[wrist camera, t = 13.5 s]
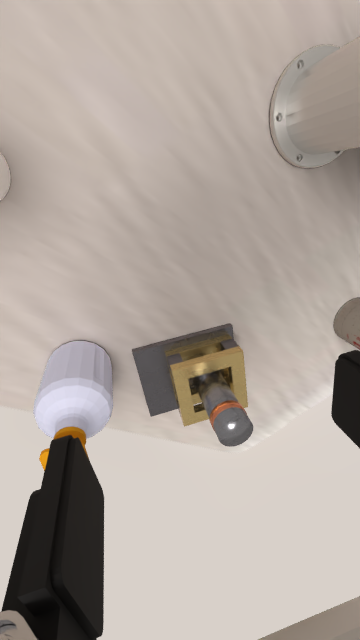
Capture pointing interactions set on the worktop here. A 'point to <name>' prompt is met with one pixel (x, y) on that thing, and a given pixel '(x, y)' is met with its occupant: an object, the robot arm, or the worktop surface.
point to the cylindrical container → (4, 177)
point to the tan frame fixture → (189, 371)
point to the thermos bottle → (349, 322)
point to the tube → (223, 409)
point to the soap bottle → (74, 393)
